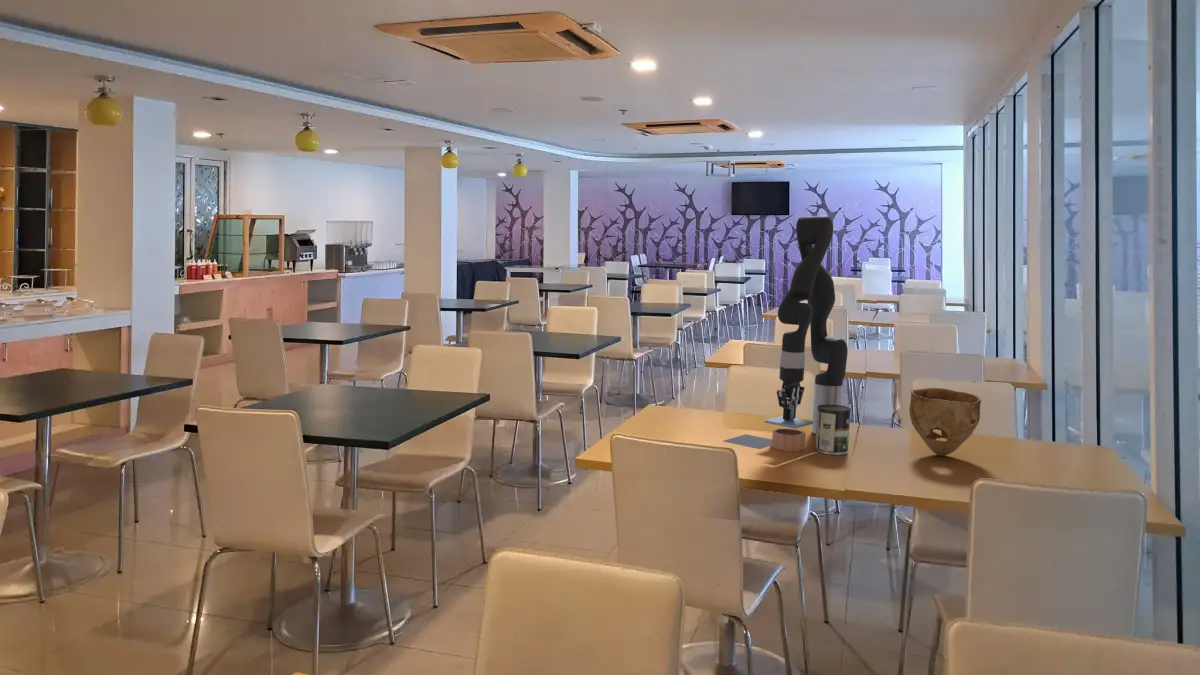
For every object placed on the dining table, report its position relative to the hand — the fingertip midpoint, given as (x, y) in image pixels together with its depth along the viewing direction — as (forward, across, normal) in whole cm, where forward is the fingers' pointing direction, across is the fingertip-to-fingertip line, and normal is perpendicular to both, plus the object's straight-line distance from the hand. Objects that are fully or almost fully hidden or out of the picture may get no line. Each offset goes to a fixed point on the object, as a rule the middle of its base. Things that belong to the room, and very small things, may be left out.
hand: (789, 419), depth 295 cm
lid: (+1, 0, 0) cm, 1 cm away
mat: (+10, +2, -12) cm, 15 cm away
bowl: (+10, -28, +38) cm, 49 cm away
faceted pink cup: (+10, 0, 0) cm, 10 cm away
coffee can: (+10, -8, +11) cm, 17 cm away
